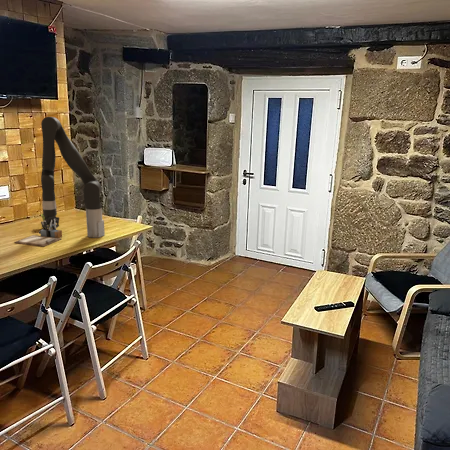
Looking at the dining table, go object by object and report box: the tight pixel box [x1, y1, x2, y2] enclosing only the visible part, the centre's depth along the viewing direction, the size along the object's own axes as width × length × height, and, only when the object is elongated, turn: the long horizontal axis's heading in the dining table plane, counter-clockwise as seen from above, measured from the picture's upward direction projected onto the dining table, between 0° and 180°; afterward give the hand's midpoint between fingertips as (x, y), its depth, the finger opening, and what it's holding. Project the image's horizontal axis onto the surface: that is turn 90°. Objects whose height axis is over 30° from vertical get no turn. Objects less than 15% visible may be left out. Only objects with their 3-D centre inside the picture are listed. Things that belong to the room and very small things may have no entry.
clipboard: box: [14, 234, 63, 247], centre depth 243 cm, size 20×15×2 cm
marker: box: [38, 228, 63, 238], centre depth 252 cm, size 14×4×4 cm, turn 73°
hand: (51, 235), depth 252 cm, fingers closed on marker, 4 cm apart
